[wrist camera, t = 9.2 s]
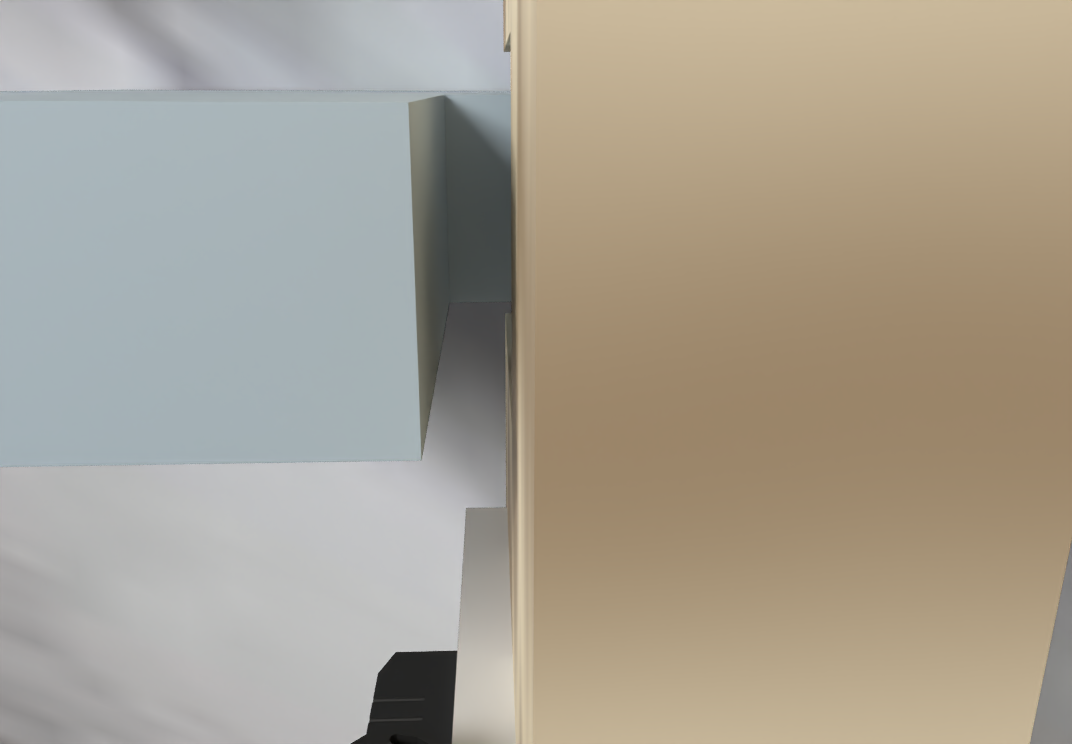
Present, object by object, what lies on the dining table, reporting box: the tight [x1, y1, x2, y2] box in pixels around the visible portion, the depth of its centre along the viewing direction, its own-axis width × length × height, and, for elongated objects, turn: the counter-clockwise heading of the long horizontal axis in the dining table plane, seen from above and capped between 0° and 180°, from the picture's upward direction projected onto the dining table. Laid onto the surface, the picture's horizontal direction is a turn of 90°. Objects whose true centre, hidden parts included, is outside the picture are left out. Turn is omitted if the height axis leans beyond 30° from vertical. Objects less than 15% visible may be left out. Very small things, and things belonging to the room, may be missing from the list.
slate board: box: [0, 90, 511, 467], centre depth 13 cm, size 18×3×12 cm, turn 90°
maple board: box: [503, 0, 1072, 744], centre depth 10 cm, size 18×3×12 cm, turn 0°
